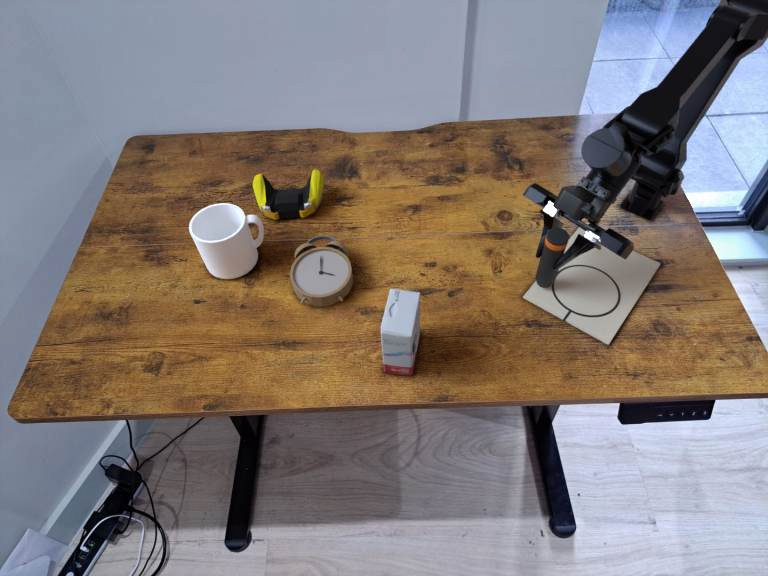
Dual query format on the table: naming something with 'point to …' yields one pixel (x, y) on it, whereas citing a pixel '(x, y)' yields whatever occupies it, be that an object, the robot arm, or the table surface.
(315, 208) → the gaming controller
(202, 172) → the table surface
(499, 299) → the table surface
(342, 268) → the alarm clock
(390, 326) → the ink box
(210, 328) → the table surface
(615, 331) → the paper sheet
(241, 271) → the mug
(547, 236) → the marker
